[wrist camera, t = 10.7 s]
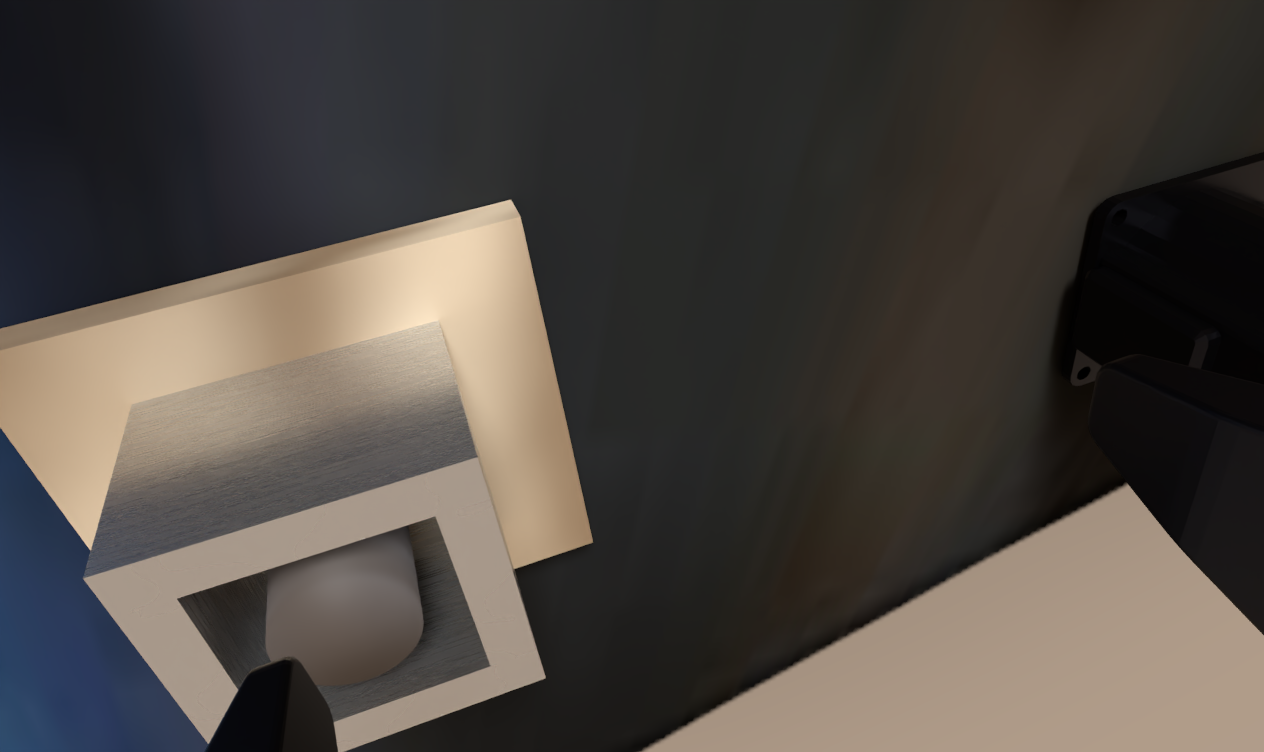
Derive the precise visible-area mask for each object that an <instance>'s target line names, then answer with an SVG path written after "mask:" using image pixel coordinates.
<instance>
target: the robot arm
mask: <svg viewBox="0 0 1264 752" xmlns="http://www.w3.org/2000/svg"><path fill="white" fill-rule="evenodd" d="M1062 377H1063V378H1064V379H1065V380H1066V381H1068V382H1069V383H1071V384H1072V385H1074V386H1081V385H1084V384H1087V383H1090V382H1093V381H1095V384H1094V389H1093V394H1092V399H1091V404H1090V409H1089V414H1088V421H1087V422H1088V428H1089V432H1090V434H1091V436H1092V438H1093V440H1094V441H1095V443H1096V444H1097V446H1098V447H1099V448H1100V449H1101V451H1102V452H1103V453H1104V454H1105V456H1106V457H1107V458H1108V459H1109V461H1110V462H1111V463H1112V464H1113V466H1114V467H1115V468H1116V469H1117V471H1118V472H1119V473H1120V474H1121V476H1122V477H1123V478H1124V479H1125V481H1126V482H1127V483H1128V484H1129V486H1130V487H1131V488H1132V490H1133V491H1134V492H1135V493H1136V495H1137V496H1138V497H1139V498H1140V500H1141V501H1142V502H1143V503H1144V505H1145V506H1146V507H1147V508H1148V510H1149V511H1150V512H1151V513H1152V515H1153V516H1154V517H1155V518H1156V520H1157V521H1158V522H1159V523H1160V524H1161V526H1162V527H1163V528H1164V529H1165V531H1166V532H1167V533H1168V534H1169V535H1170V537H1171V538H1172V539H1173V540H1174V542H1175V543H1176V544H1177V545H1178V546H1179V547H1180V548H1181V550H1182V551H1183V552H1184V553H1185V554H1186V555H1187V556H1188V557H1189V558H1190V559H1191V560H1192V562H1193V563H1194V564H1195V565H1196V566H1197V567H1198V568H1199V569H1200V570H1201V571H1202V572H1203V573H1204V574H1205V575H1206V576H1207V577H1208V578H1209V579H1210V580H1211V581H1212V582H1213V583H1214V584H1215V585H1216V586H1217V587H1218V588H1219V589H1220V590H1221V591H1222V593H1224V595H1225V596H1226V597H1227V598H1228V599H1229V600H1230V601H1231V602H1232V603H1233V604H1234V605H1235V606H1236V607H1237V608H1238V609H1239V610H1240V611H1241V612H1242V613H1243V614H1244V615H1245V616H1246V617H1247V618H1248V620H1249V621H1251V623H1252V624H1253V625H1254V626H1255V627H1256V628H1257V629H1258V630H1259V631H1260V632H1261V633H1262V634H1263V635H1264V152H1263V153H1259V154H1256V155H1252V156H1249V157H1245V158H1242V159H1239V160H1235V161H1232V162H1228V163H1225V164H1221V165H1218V166H1215V167H1211V168H1208V169H1204V170H1201V171H1197V172H1194V173H1191V174H1187V175H1184V176H1180V177H1177V178H1173V179H1170V180H1167V181H1163V182H1160V183H1156V184H1153V185H1150V186H1146V187H1143V188H1139V189H1136V190H1132V191H1129V192H1126V193H1122V194H1119V195H1115V196H1112V197H1110V198H1108V199H1106V200H1105V201H1104V202H1103V203H1102V204H1101V205H1100V206H1099V208H1098V209H1097V211H1096V213H1095V216H1094V221H1093V225H1092V230H1091V235H1090V240H1089V244H1088V249H1087V254H1086V259H1085V263H1084V268H1083V273H1082V278H1081V282H1080V287H1079V292H1078V297H1077V301H1076V306H1075V311H1074V316H1073V320H1072V325H1071V330H1070V335H1069V339H1068V344H1067V349H1066V354H1065V358H1064V363H1063V368H1062ZM205 752H338V747H337V740H336V733H335V727H334V721H333V717H332V714H331V711H330V708H329V706H328V703H327V702H326V700H325V698H324V697H323V695H322V694H321V692H320V691H319V689H318V688H317V686H316V685H315V683H314V682H313V680H312V679H311V677H310V675H309V674H308V672H307V671H306V669H305V668H304V666H303V665H302V663H301V662H300V661H299V660H298V659H297V658H295V657H293V656H286V657H283V658H281V659H278V660H275V661H272V662H269V663H267V664H264V665H261V666H258V667H256V668H254V669H252V670H251V671H250V672H249V673H248V674H247V675H246V677H245V678H244V680H243V682H242V684H241V686H240V687H239V689H238V691H237V693H236V695H235V697H234V698H233V700H232V702H231V704H230V706H229V708H228V709H227V711H226V713H225V715H224V717H223V719H222V720H221V722H220V724H219V726H218V728H217V730H216V731H215V733H214V735H213V737H212V739H211V741H210V742H209V744H208V746H207V748H206V750H205Z"/></svg>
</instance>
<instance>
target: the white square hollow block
mask: <svg viewBox="0 0 1264 752" xmlns="http://www.w3.org/2000/svg"><path fill="white" fill-rule="evenodd" d="M407 525H409V531H410V537H411V544H412V550H413V556H414V562H415V569H416V575H417V581H418V588H419V594H420V600H421V606H422V613H423V621H424V624H423V631H422V635H421V637H420V640H419V642H418V643H417V645H416V647H415V648H414V649H413V651H412V652H411V653H410V654H409V655H408V656H407V657H406V658H405V659H404V660H403V661H402V662H400V663H399V664H398V665H396V666H395V667H393V668H392V669H390V670H389V671H387V672H385V673H383V674H381V675H379V676H376V677H374V678H371V679H368V680H365V681H362V682H358V683H353V684H347V685H338V686H321V685H316V686H317V688H318V689H319V691H320V692H321V694H322V695H323V697H324V698H325V700H326V702H327V703H328V706H329V708H330V711H331V714H332V717H333V721H334V727H335V733H336V740H337V747H338V752H344V751H347V750H350V749H352V748H355V747H358V746H361V745H363V744H366V743H369V742H372V741H374V740H377V739H380V738H383V737H385V736H388V735H391V734H394V733H396V732H399V731H402V730H405V729H407V728H410V727H413V726H416V725H418V724H421V723H424V722H427V721H429V720H432V719H435V718H438V717H440V716H443V715H446V714H449V713H451V712H454V711H457V710H460V709H462V708H465V707H468V706H471V705H473V704H476V703H479V702H482V701H484V700H487V699H490V698H493V697H495V696H498V695H501V694H504V693H506V692H509V691H512V690H515V689H517V688H520V687H523V686H526V685H528V684H531V683H534V682H537V681H539V680H542V679H545V678H546V677H545V674H544V670H543V667H542V663H541V660H540V656H539V653H538V649H537V646H536V643H535V639H534V636H533V632H532V629H531V625H530V622H529V618H528V615H527V612H526V608H525V605H524V601H523V598H522V594H521V591H520V587H519V584H518V580H517V577H516V574H515V570H514V567H513V563H512V560H511V556H510V553H509V549H508V546H507V543H506V539H505V536H504V532H503V529H502V525H501V522H500V519H499V515H498V512H497V509H496V506H495V502H494V499H493V496H492V493H491V489H490V486H489V483H488V480H487V476H486V473H485V470H484V467H483V463H482V460H481V457H480V454H479V450H478V447H477V444H476V440H475V437H474V434H473V431H472V427H471V424H470V421H469V418H468V414H467V411H466V408H465V405H464V401H463V398H462V395H461V392H460V388H459V385H458V382H457V379H456V375H455V372H454V369H453V365H452V362H451V359H450V356H449V352H448V349H447V346H446V343H445V339H444V336H443V333H442V330H441V326H440V323H439V320H438V321H434V322H431V323H427V324H423V325H420V326H416V327H412V328H409V329H405V330H402V331H398V332H394V333H391V334H387V335H383V336H380V337H376V338H372V339H369V340H365V341H361V342H358V343H354V344H350V345H347V346H343V347H340V348H336V349H332V350H329V351H325V352H321V353H318V354H314V355H310V356H307V357H303V358H299V359H296V360H292V361H288V362H285V363H281V364H277V365H274V366H270V367H267V368H263V369H259V370H256V371H252V372H248V373H245V374H241V375H237V376H234V377H230V378H226V379H223V380H219V381H215V382H212V383H208V384H205V385H201V386H197V387H194V388H190V389H186V390H183V391H179V392H175V393H172V394H168V395H164V396H161V397H157V398H153V399H150V400H146V401H143V402H139V403H135V404H132V405H131V409H130V412H129V416H128V419H127V423H126V427H125V430H124V434H123V437H122V441H121V444H120V448H119V452H118V455H117V459H116V462H115V466H114V470H113V473H112V477H111V480H110V484H109V488H108V491H107V495H106V498H105V502H104V505H103V509H102V513H101V516H100V520H99V523H98V527H97V531H96V534H95V538H94V541H93V545H92V548H91V552H90V556H89V559H88V563H87V566H86V570H85V574H84V577H83V579H84V580H85V582H86V583H87V584H88V586H89V587H90V588H91V590H92V591H93V592H94V594H95V595H96V596H97V598H98V599H99V600H100V601H101V603H102V604H103V605H104V607H105V608H106V609H107V611H108V612H109V613H110V615H111V616H112V617H113V619H114V620H115V621H116V623H117V624H118V625H119V627H120V628H121V629H122V631H123V632H124V633H125V634H126V636H127V637H128V638H129V640H130V641H131V642H132V644H133V645H134V646H135V648H136V649H137V650H138V652H139V653H140V654H141V656H142V657H143V658H144V660H145V661H146V662H147V664H148V665H149V666H150V667H151V669H152V670H153V671H154V673H155V674H156V675H157V677H158V678H159V679H160V681H161V682H162V683H163V685H164V686H165V687H166V689H167V690H168V691H169V693H170V694H171V695H172V697H173V698H174V699H175V701H176V702H177V703H178V704H179V706H180V707H181V708H182V710H183V711H184V712H185V714H186V715H187V716H188V718H189V719H190V720H191V722H192V723H193V724H194V726H195V727H196V728H197V730H198V731H199V732H200V734H201V735H202V736H203V737H204V739H205V740H206V741H207V743H208V744H209V742H210V741H211V739H212V737H213V735H214V733H215V731H216V730H217V728H218V726H219V724H220V722H221V720H222V719H223V717H224V715H225V713H226V711H227V709H228V708H229V706H230V704H231V702H232V700H233V698H234V697H235V695H236V693H237V691H238V689H239V687H240V686H241V684H242V682H243V680H244V678H245V677H246V675H247V674H248V673H249V672H250V671H251V670H252V669H254V668H256V667H258V666H261V665H264V664H267V663H269V662H271V660H270V658H269V656H268V654H267V650H266V642H265V638H266V611H267V584H268V569H272V568H275V567H278V566H281V565H284V564H287V563H290V562H294V561H297V560H300V559H303V558H306V557H309V556H312V555H316V554H319V553H322V552H325V551H328V550H331V549H334V548H338V547H341V546H344V545H347V544H350V543H353V542H356V541H360V540H363V539H366V538H369V537H372V536H375V535H378V534H382V533H385V532H388V531H391V530H394V529H397V528H400V527H404V526H407Z"/></svg>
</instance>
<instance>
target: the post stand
mask: <svg viewBox="0 0 1264 752" xmlns="http://www.w3.org/2000/svg"><path fill="white" fill-rule="evenodd" d="M438 320H439V323H440V326H441V330H442V333H443V336H444V339H445V343H446V346H447V349H448V352H449V356H450V359H451V362H452V365H453V369H454V372H455V375H456V379H457V382H458V385H459V388H460V392H461V395H462V398H463V401H464V405H465V408H466V411H467V414H468V418H469V421H470V424H471V427H472V431H473V434H474V437H475V440H476V444H477V447H478V450H479V454H480V457H481V460H482V463H483V467H484V470H485V473H486V476H487V480H488V483H489V486H490V489H491V493H492V496H493V499H494V502H495V506H496V509H497V512H498V515H499V519H500V522H501V525H502V529H503V532H504V536H505V539H506V543H507V546H508V549H509V553H510V556H511V560H512V563H513V567H514V569H516V568H519V567H522V566H525V565H528V564H531V563H534V562H537V561H539V560H542V559H545V558H548V557H551V556H554V555H557V554H560V553H563V552H566V551H569V550H572V549H575V548H578V547H581V546H584V545H587V544H590V543H593V540H592V535H591V531H590V526H589V522H588V517H587V513H586V508H585V504H584V499H583V495H582V490H581V486H580V481H579V477H578V472H577V468H576V463H575V459H574V455H573V450H572V446H571V441H570V437H569V432H568V428H567V423H566V419H565V414H564V410H563V405H562V401H561V396H560V392H559V387H558V383H557V378H556V374H555V369H554V365H553V360H552V356H551V351H550V347H549V342H548V338H547V333H546V329H545V324H544V320H543V315H542V311H541V306H540V302H539V297H538V293H537V288H536V284H535V279H534V275H533V270H532V266H531V261H530V257H529V252H528V248H527V244H526V239H525V235H524V230H523V226H522V221H521V217H520V215H519V213H518V211H517V209H516V208H515V206H514V204H513V202H512V201H511V200H508V201H504V202H500V203H496V204H492V205H488V206H484V207H480V208H476V209H472V210H468V211H464V212H460V213H456V214H452V215H448V216H444V217H440V218H436V219H432V220H428V221H424V222H421V223H417V224H413V225H409V226H405V227H401V228H397V229H393V230H389V231H385V232H381V233H377V234H373V235H369V236H365V237H361V238H357V239H353V240H349V241H345V242H341V243H337V244H333V245H330V246H326V247H322V248H318V249H314V250H310V251H306V252H302V253H298V254H294V255H290V256H286V257H282V258H278V259H274V260H270V261H266V262H262V263H258V264H254V265H250V266H246V267H242V268H238V269H235V270H231V271H227V272H223V273H219V274H215V275H211V276H207V277H203V278H199V279H195V280H191V281H187V282H183V283H179V284H175V285H171V286H167V287H163V288H159V289H155V290H151V291H147V292H144V293H140V294H136V295H132V296H128V297H124V298H120V299H116V300H112V301H108V302H104V303H100V304H96V305H92V306H88V307H84V308H80V309H76V310H72V311H68V312H64V313H60V314H56V315H53V316H49V317H45V318H41V319H37V320H33V321H29V322H25V323H21V324H17V325H13V326H9V327H5V328H1V329H0V428H1V429H2V430H3V432H4V433H5V435H6V436H7V437H8V439H9V440H10V441H11V443H12V444H13V445H14V447H15V448H16V450H17V451H18V452H19V454H20V455H21V456H22V458H23V459H24V461H25V462H26V463H27V465H28V466H29V467H30V469H31V470H32V471H33V473H34V474H35V476H36V477H37V478H38V480H39V481H40V482H41V484H42V485H43V486H44V488H45V489H46V491H47V492H48V493H49V495H50V496H51V497H52V499H53V500H54V502H55V503H56V504H57V506H58V507H59V508H60V510H61V511H62V512H63V514H64V515H65V517H66V518H67V519H68V521H69V522H70V523H71V525H72V526H73V527H74V529H75V530H76V532H77V533H78V534H79V536H80V537H81V538H82V540H83V541H84V543H85V544H86V545H87V547H88V548H89V549H90V551H91V548H92V545H93V541H94V538H95V534H96V531H97V527H98V523H99V520H100V516H101V513H102V509H103V505H104V502H105V498H106V495H107V491H108V488H109V484H110V480H111V477H112V473H113V470H114V466H115V462H116V459H117V455H118V452H119V448H120V444H121V441H122V437H123V434H124V430H125V427H126V423H127V419H128V416H129V412H130V409H131V405H132V404H135V403H139V402H143V401H146V400H150V399H153V398H157V397H161V396H164V395H168V394H172V393H175V392H179V391H183V390H186V389H190V388H194V387H197V386H201V385H205V384H208V383H212V382H215V381H219V380H223V379H226V378H230V377H234V376H237V375H241V374H245V373H248V372H252V371H256V370H259V369H263V368H267V367H270V366H274V365H277V364H281V363H285V362H288V361H292V360H296V359H299V358H303V357H307V356H310V355H314V354H318V353H321V352H325V351H329V350H332V349H336V348H340V347H343V346H347V345H350V344H354V343H358V342H361V341H365V340H369V339H372V338H376V337H380V336H383V335H387V334H391V333H394V332H398V331H402V330H405V329H409V328H412V327H416V326H420V325H423V324H427V323H431V322H434V321H438ZM423 624H424V621H423V613H422V606H421V600H420V594H419V588H418V581H417V575H416V569H415V562H414V556H413V550H412V544H411V537H410V531H409V525H407V526H404V527H400V528H397V529H394V530H391V531H388V532H385V533H382V534H378V535H375V536H372V537H369V538H366V539H363V540H360V541H356V542H353V543H350V544H347V545H344V546H341V547H338V548H334V549H331V550H328V551H325V552H322V553H319V554H316V555H312V556H309V557H306V558H303V559H300V560H297V561H294V562H290V563H287V564H284V565H281V566H278V567H275V568H272V569H268V584H267V611H266V638H265V642H266V650H267V654H268V656H269V658H270V660H271V662H272V661H275V660H278V659H281V658H283V657H286V656H293V657H295V658H297V659H298V660H299V661H300V662H301V663H302V665H303V666H304V668H305V669H306V671H307V672H308V674H309V675H310V677H311V679H312V680H313V682H314V683H315V685H321V686H338V685H347V684H353V683H358V682H362V681H365V680H368V679H371V678H374V677H376V676H379V675H381V674H383V673H385V672H387V671H389V670H390V669H392V668H393V667H395V666H396V665H398V664H399V663H400V662H402V661H403V660H404V659H405V658H406V657H407V656H408V655H409V654H410V653H411V652H412V651H413V649H414V648H415V647H416V645H417V643H418V642H419V640H420V637H421V635H422V631H423Z"/></svg>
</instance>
